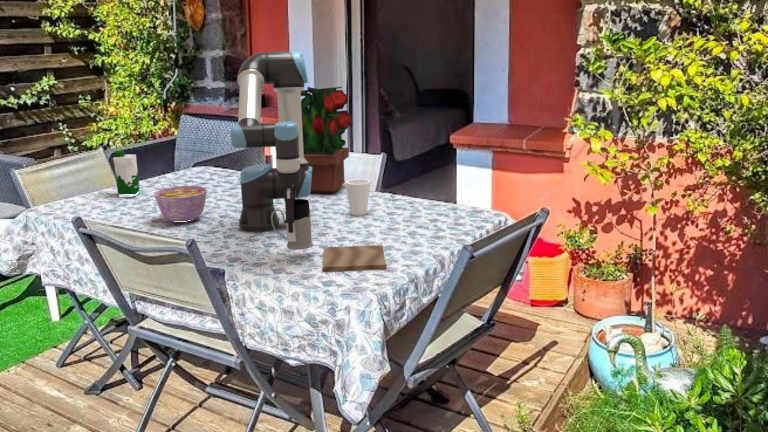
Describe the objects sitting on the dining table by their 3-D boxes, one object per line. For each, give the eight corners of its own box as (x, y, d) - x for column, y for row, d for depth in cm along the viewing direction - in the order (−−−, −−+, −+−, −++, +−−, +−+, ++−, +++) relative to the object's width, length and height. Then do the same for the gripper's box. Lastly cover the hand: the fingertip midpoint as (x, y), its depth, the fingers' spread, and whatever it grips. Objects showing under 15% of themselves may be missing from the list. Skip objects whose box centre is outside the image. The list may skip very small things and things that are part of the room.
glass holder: (317, 246, 258) (315, 202, 254) (279, 254, 251) (276, 210, 246) (304, 239, 265) (302, 196, 261) (267, 247, 258) (264, 204, 253)
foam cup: (367, 217, 304) (366, 184, 301) (344, 216, 306) (343, 184, 303) (372, 210, 313) (371, 179, 310) (350, 209, 315) (349, 178, 311)
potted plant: (353, 185, 355) (350, 86, 343) (339, 197, 335) (335, 92, 322) (307, 183, 360) (302, 85, 348) (291, 195, 340) (285, 92, 327)
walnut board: (322, 271, 246) (322, 267, 245) (323, 251, 265) (323, 247, 264) (386, 269, 247) (385, 264, 246) (382, 249, 266) (382, 245, 265)
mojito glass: (122, 193, 351) (117, 149, 345) (142, 193, 350) (137, 149, 345) (115, 198, 342) (110, 153, 337) (136, 198, 342) (131, 153, 336)
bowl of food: (146, 225, 301) (143, 196, 298) (176, 211, 319) (174, 184, 316) (190, 229, 294) (188, 199, 291) (219, 215, 312) (216, 187, 309)
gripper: (298, 177, 241) (302, 246, 248) (301, 162, 262) (305, 226, 268) (274, 178, 241) (278, 247, 248) (279, 163, 261) (283, 227, 268)
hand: (292, 236), depth 258 cm, fingers closed on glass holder, 8 cm apart
